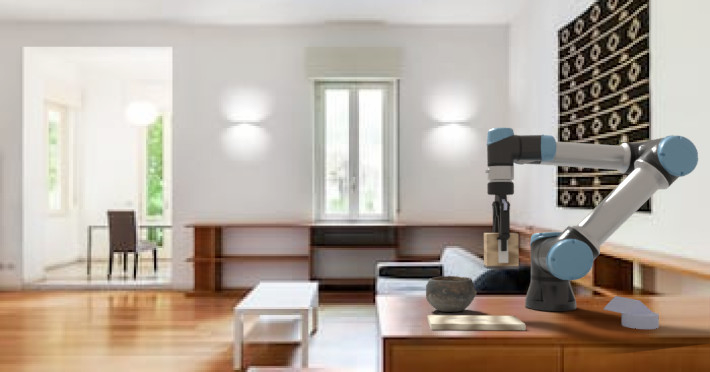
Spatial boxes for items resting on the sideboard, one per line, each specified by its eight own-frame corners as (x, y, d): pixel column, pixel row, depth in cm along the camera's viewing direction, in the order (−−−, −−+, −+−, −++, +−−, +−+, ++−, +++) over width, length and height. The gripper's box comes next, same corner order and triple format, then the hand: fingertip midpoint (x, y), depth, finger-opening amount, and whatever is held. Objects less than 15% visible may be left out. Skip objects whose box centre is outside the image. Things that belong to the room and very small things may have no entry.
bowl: (484, 311, 188) (484, 277, 188) (453, 317, 177) (453, 282, 178) (446, 305, 198) (446, 273, 198) (415, 311, 187) (415, 278, 187)
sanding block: (514, 267, 184) (514, 232, 184) (518, 268, 179) (518, 233, 179) (484, 267, 184) (483, 232, 184) (487, 268, 179) (486, 233, 179)
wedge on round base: (603, 321, 172) (640, 330, 160) (602, 296, 173) (640, 304, 161) (628, 319, 176) (666, 327, 164) (627, 295, 176) (666, 302, 164)
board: (515, 321, 172) (515, 315, 172) (525, 330, 160) (525, 324, 160) (427, 320, 173) (427, 315, 173) (431, 329, 161) (431, 323, 161)
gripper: (482, 182, 191) (482, 258, 191) (493, 180, 173) (494, 264, 173) (507, 182, 191) (507, 258, 190) (520, 180, 173) (521, 264, 172)
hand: (501, 261), depth 182 cm, fingers closed on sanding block, 5 cm apart
